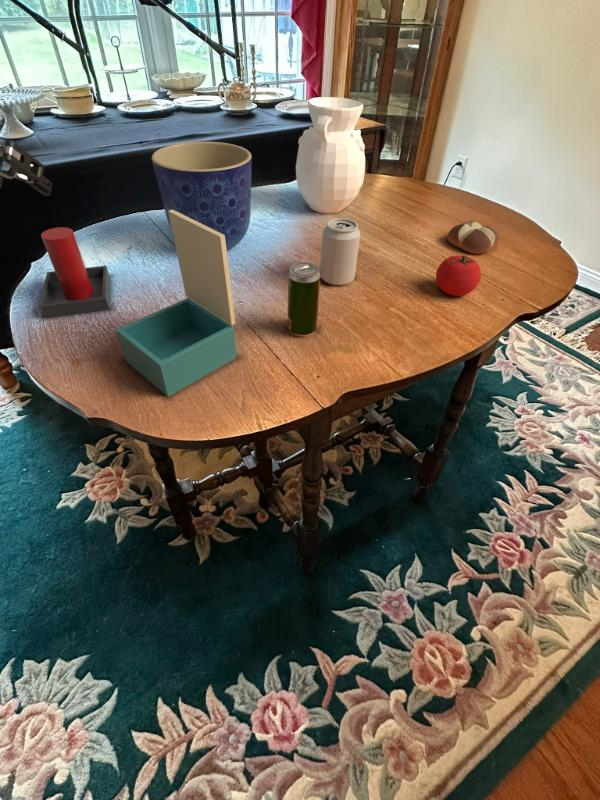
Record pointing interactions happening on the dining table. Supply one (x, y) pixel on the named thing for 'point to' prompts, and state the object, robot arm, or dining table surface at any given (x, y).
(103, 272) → the tray
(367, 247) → the dining table surface
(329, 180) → the white vase
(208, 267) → the lid
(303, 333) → the beer can
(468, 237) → the bread
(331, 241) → the can
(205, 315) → the teal open box
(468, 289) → the tomato
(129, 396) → the dining table surface
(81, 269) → the plain red cylinder
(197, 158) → the planter
